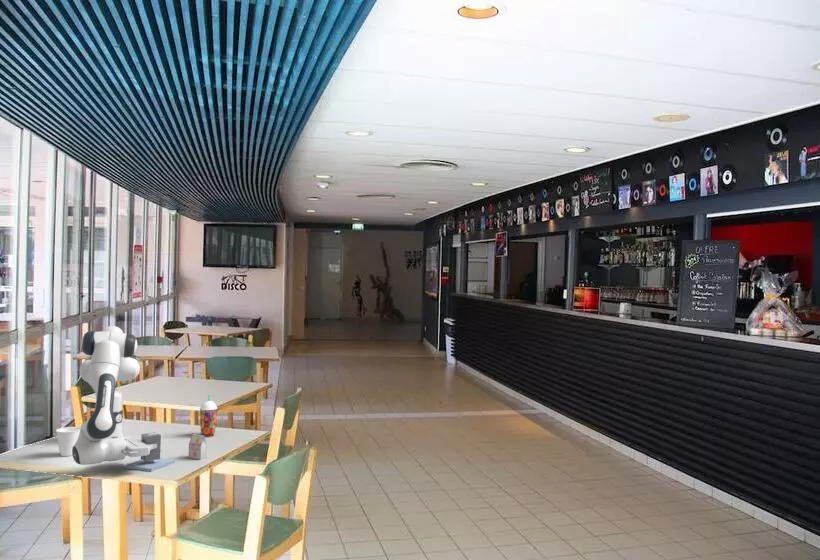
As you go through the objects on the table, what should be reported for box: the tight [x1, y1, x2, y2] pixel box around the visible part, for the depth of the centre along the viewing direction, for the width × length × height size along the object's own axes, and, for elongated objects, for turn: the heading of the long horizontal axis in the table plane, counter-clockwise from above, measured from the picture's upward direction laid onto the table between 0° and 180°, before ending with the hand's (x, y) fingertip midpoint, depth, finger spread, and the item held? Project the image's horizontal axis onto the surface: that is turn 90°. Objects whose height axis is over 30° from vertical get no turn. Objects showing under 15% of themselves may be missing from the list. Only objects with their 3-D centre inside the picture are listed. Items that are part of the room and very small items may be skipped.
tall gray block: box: [140, 431, 162, 461], centre depth 262 cm, size 6×6×10 cm
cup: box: [55, 426, 81, 457], centre depth 274 cm, size 10×10×11 cm
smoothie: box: [199, 394, 218, 438], centre depth 314 cm, size 8×8×20 cm
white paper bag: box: [188, 433, 208, 461], centre depth 275 cm, size 4×7×10 cm, turn 66°
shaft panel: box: [124, 457, 176, 473], centre depth 262 cm, size 13×14×8 cm
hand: (153, 443), depth 262 cm, fingers closed on tall gray block, 6 cm apart
